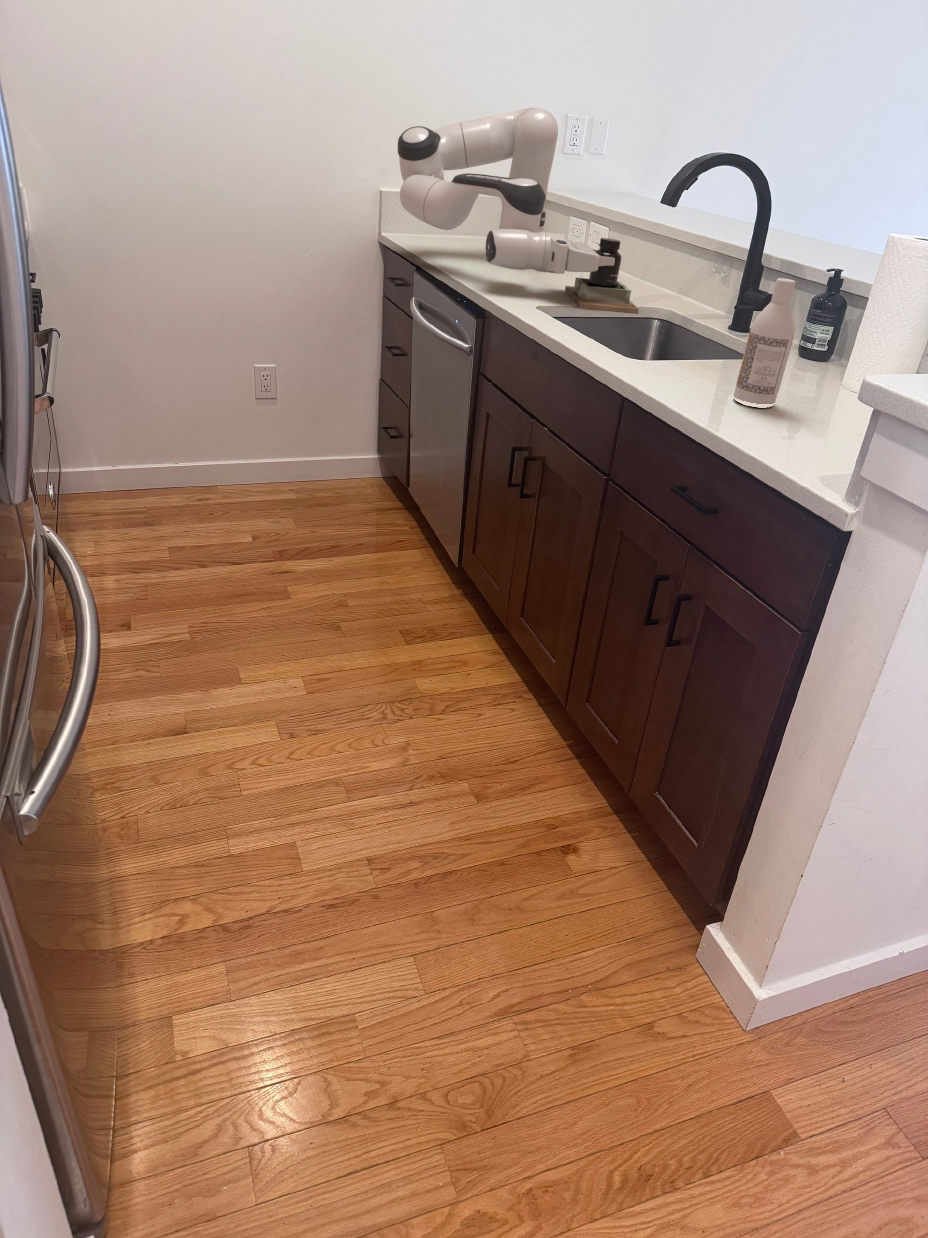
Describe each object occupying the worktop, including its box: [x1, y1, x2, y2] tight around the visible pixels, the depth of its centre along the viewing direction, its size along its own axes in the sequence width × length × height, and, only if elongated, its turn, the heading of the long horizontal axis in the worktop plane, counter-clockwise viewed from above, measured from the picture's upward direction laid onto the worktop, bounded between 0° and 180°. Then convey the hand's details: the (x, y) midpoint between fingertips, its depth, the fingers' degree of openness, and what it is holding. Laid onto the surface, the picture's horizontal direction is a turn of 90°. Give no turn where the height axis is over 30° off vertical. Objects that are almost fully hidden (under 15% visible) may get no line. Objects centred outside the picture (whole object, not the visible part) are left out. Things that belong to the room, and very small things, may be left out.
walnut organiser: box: [564, 277, 640, 314], centre depth 215 cm, size 22×14×4 cm, turn 4°
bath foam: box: [733, 277, 796, 404], centre depth 144 cm, size 7×7×20 cm
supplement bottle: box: [588, 237, 622, 289], centre depth 212 cm, size 7×7×12 cm
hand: (610, 258), depth 211 cm, fingers closed on supplement bottle, 7 cm apart
